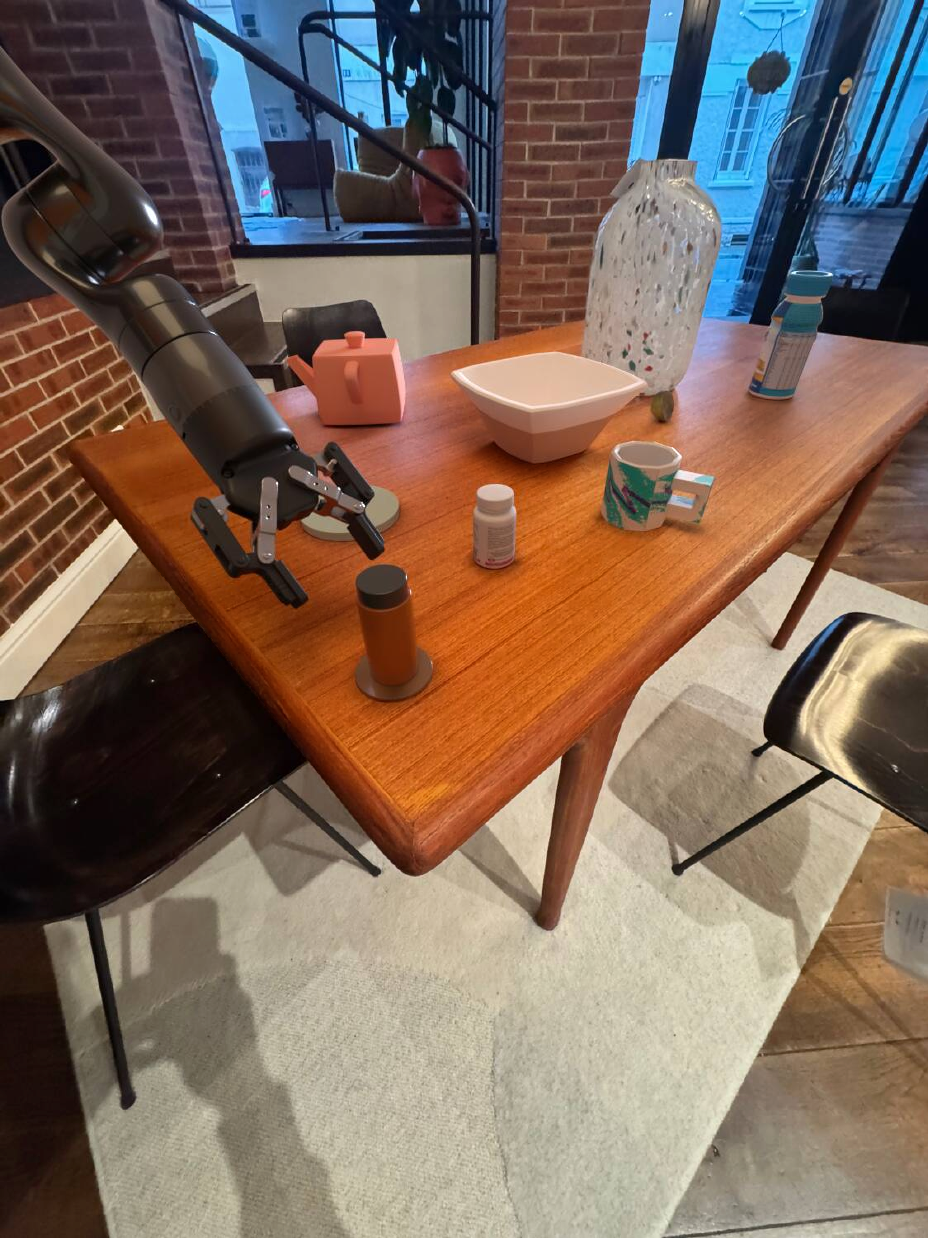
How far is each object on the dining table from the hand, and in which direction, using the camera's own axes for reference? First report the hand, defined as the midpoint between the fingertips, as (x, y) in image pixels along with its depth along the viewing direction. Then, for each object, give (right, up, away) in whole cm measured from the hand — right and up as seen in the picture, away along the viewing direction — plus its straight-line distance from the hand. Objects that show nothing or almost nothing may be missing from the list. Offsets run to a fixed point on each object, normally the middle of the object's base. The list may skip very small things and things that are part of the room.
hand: (342, 579), depth 44 cm
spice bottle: (+4, -8, +3) cm, 9 cm away
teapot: (-11, +35, +54) cm, 65 cm away
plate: (-5, +10, +25) cm, 28 cm away
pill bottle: (+14, +4, +17) cm, 22 cm away
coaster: (+4, -8, +3) cm, 10 cm away
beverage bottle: (+71, +41, +59) cm, 101 cm away
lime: (+46, +32, +50) cm, 75 cm away
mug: (+34, +9, +23) cm, 42 cm away
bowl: (+23, +25, +42) cm, 54 cm away
